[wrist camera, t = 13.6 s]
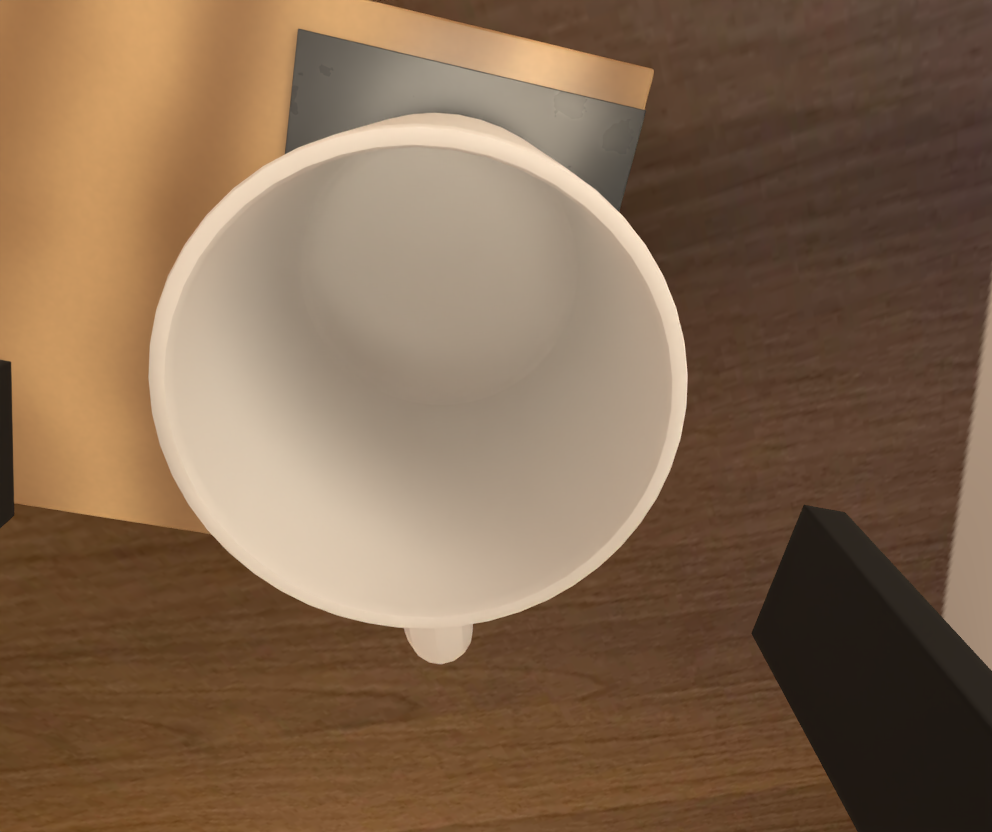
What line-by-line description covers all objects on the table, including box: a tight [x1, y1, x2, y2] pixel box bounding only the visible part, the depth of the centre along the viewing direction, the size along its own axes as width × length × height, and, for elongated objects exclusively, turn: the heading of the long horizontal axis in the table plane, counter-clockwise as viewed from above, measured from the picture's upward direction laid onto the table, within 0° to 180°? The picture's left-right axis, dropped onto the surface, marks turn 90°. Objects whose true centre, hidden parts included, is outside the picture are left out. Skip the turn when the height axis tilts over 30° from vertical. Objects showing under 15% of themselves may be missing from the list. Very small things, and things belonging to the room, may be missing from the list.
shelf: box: [0, 0, 654, 534], centre depth 23 cm, size 22×16×9 cm
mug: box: [148, 113, 688, 664], centre depth 17 cm, size 12×8×10 cm
